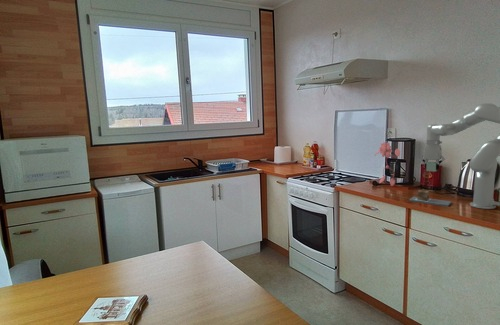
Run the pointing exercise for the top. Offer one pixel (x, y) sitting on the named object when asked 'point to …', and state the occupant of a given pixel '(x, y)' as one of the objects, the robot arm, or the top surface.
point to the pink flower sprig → (386, 152)
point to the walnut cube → (423, 195)
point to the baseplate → (432, 201)
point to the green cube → (431, 166)
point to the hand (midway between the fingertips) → (431, 169)
